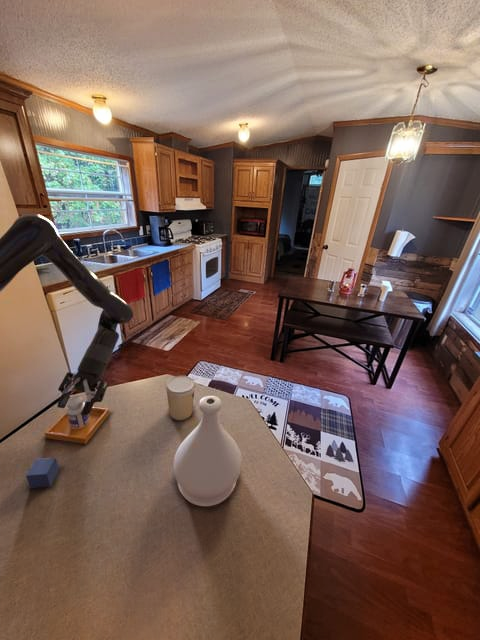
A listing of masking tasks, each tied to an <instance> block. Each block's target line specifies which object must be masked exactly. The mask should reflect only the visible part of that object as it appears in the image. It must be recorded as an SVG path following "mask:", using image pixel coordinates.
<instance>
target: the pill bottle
mask: <svg viewBox="0 0 480 640" xmlns="http://www.w3.org/2000/svg"><path fill="white" fill-rule="evenodd" d="M85 403H86V402H84V399H83V397H82V396H74V397H71V398H69V400H68V402H67V404H66V406H67V408H66V412H67V416H68V419H69V423H70V426H71V428H72V429H81V428H83V427H85V426H86V425H87V424H88V423H89V421H90V418H89V414H88V415H81V412H82V410H83V407H84V405H85Z"/></svg>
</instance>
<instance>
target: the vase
mask: <svg viewBox="0 0 480 640" xmlns="http://www.w3.org/2000/svg"><path fill="white" fill-rule="evenodd" d="M222 405H223V403H222V400H221V399H220V398H219V397H218V396H216V395H205V396H203V397H201V399H200V400H199V402H198V408H199V410H200V412H202V416H201V420H200V422H199V423H198V424H197V426H195V428H194V429H193V430H192V431H191V432H190V433H189V434H188V435H187V436H186V438H184V439H183V441H182V442H181V444H180V445H179V447H178V448H177V450H176V453H175V455H174V458H173V473H174V477H175V480H176V482H177V486H178V489H179V492H180V493H181V495H182V497H184V499H185V500H187V501H188V502H189V503H191V504H193V505H195V506H198V507H212V506H215V505H218V504H221V503H222V502H224V501H225V500H226V499H228V498H229V497H230V496H231V494H232V493H233V491H234V490H235V487H236V484H237V480H238V479H239V477H240V475H241V471H242V465H243V459H242V453H241V450H240V448H239V445H238V444H237V442H236V441H235V440H234V438H233V437H232V436H231V435H230V434H229V432H228V431H227V430H226V428H224V427H223V425H222V424H221V422H220V421H219V417H218V413H219V411H221V409H222Z"/></svg>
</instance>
